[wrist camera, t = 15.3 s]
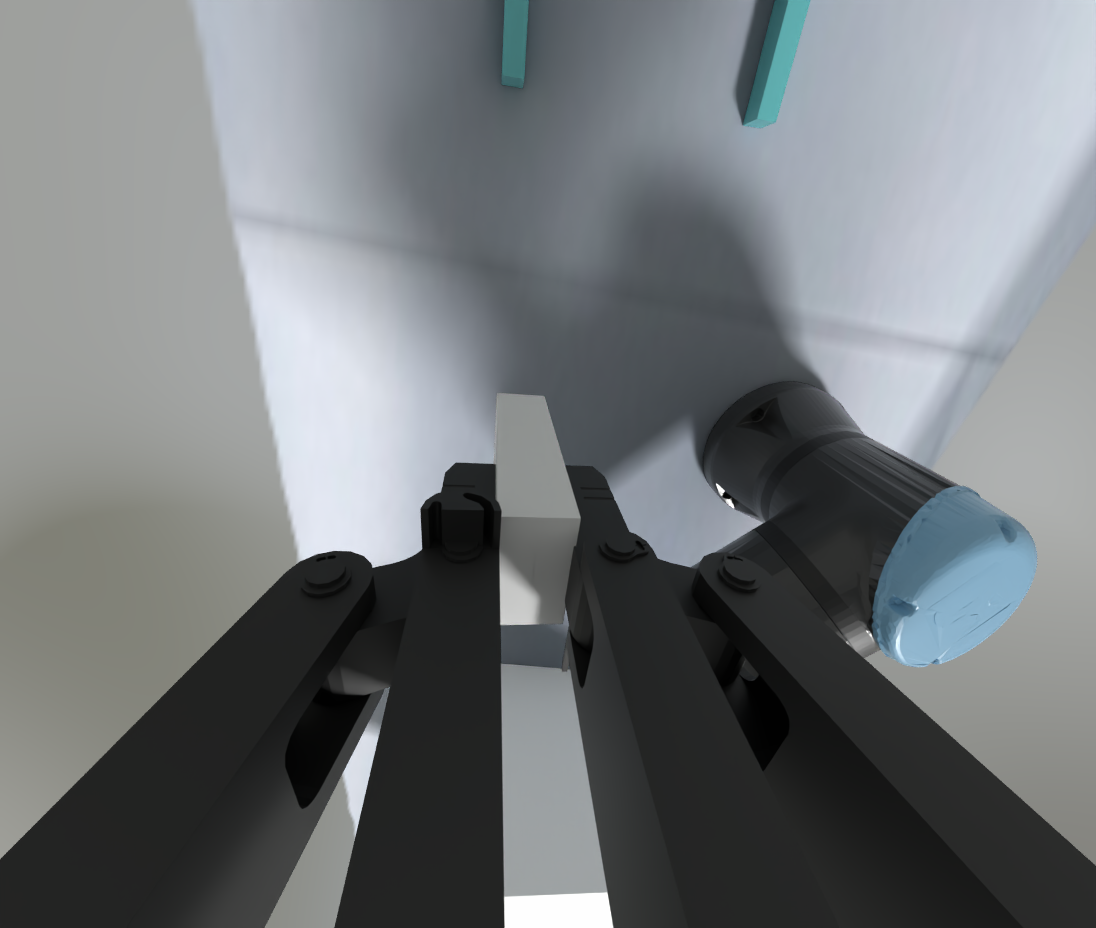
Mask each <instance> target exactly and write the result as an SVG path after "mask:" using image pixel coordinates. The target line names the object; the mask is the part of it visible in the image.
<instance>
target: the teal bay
mask: <svg viewBox="0 0 1096 928" xmlns="http://www.w3.org/2000/svg"><path fill="white" fill-rule="evenodd" d="M809 4H810V0H775V2H774V5H773V9H772V13H771V17H770V21H769V25H768V29H767V33H766V37H765V41H764V45H763V49H762V52H761V56H760V60H759V64H758V68H757V72H756V76H755V80H754V84H753V88H752V92H751V95H750V99H749V103H748V107H747V111H746V115H745V119H744V123H743V125H744V126H750V127H756V128H763V127H765V126H768V125H770V124H773V123H775V122H776V120H777V116H778V113H779V109H780V106H781V102H782V99H783V95H784V92H785V88H786V84H787V81H788V77H789V74H790V70H791V67H792V63H793V60H794V56H795V53H796V49H797V46H798V42H799V39H800V35H801V32H802V28H803V25H804V21H805V18H806V14H807V11H808V7H809ZM528 6H529V0H505V5H504V31H503V57H502V84H501V85H506V86H512V87H518V88H523V84H524V76H525V58H526V41H527V24H528Z"/></svg>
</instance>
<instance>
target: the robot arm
mask: <svg viewBox="0 0 1096 928" xmlns="http://www.w3.org/2000/svg"><path fill="white" fill-rule="evenodd" d="M703 468H704V473H705V477H706V479H707V481H708V483H709V485H710V486H711V488H712V489H713V490H714V491H715V493H716V494H717V495H718V496H719V497H720V498H721V499H722V500H723V501H724V502H725V503H726V504H727V505H729V506H730V507H732V508H733V509H736V510H738V511H740V512H742V513H744V514H746V515H748V516H750V517H752V518H755V519H757V520H759V521H761V522H763V524H761V525H760V526H758V527H756V528H755V529H753V530H751V531H750V532H748V533H746V534H745V535H743V536H741V537H740V538H738V539H737V540H735V541H733V542H732V543H730V544H728V545H727V546H725V547H723V548H722V549H720V550H718V551H717V552H715V553H711V554H709V555H706V556H704V557H703V559H702V560H701V561H700V562H699V563H697V564H695V565H694V566H692V567H686V566H682V565H677V564H673V563H669V562H666V561H663V560H660V559H658V558H657V557H656V555H655V553H654V551H653V549H652V548H651V547H650V545H649V544H648V543H647V541H645V540H644V539H642V538H641V537H639V536H638V535H636V534H634V533H631V532H629V530H628V528H627V526H626V523H625V521H624V519H623V517H622V514H621V512H620V510H619V508H618V506H617V503H616V501H615V500H614V497H613V494H612V492H611V490H610V488H609V485H608V483H607V481H606V479H605V477H604V476H603V475H602V474H601V473H600V472H598V471H597V470H596V469H595V468H594V467H593V466H567V465H565V464H564V460H563V457H562V453H561V450H560V447H559V443H558V440H557V437H556V433H555V430H554V427H553V423H552V420H551V417H550V413H549V410H548V407H547V403H546V400H545V396H539V395H523V394H507V393H497V400H496V421H495V443H494V464H479V463H455V464H454V465H453V466H452V467H451V468H450V469H449V470H448V471H446V472H445V477H444V481H443V487H442V491H441V493H437V494H435V495H434V496H432V497H430V498H429V499H427V500H426V501H425V503H424V504H423V506H422V507H421V509H420V510H421V530H422V550H421V551H420V552H418V553H417V554H416V555H414V556H412V557H410V558H408V559H406V560H403V561H400V562H396V563H393V564H388V565H384V566H379V567H375V568H372V564H371V563H370V562H369V561H368V560H367V559H366V558H365V557H364V556H362V555H359V554H356V553H353V552H349V551H332V552H327V553H322V554H317V555H314V556H312V557H310V558H307V559H305V560H303V561H300V562H299V563H298V564H296V565H295V566H294V567H292V568H291V569H290V570H289V571H287V572H286V573H285V574H284V575H283V576H282V577H281V578H280V579H279V580H278V581H277V582H276V583H275V584H274V585H273V586H272V587H271V588H270V589H269V590H268V591H267V592H266V593H265V594H264V595H263V596H262V597H261V598H260V599H259V600H258V601H257V602H256V603H255V604H254V605H253V606H252V607H251V608H250V609H249V610H248V611H247V612H246V613H245V614H244V615H243V616H242V617H241V618H240V619H239V620H238V621H237V622H236V623H235V624H234V625H233V626H232V627H231V628H230V629H229V630H228V631H227V632H226V633H225V634H224V635H223V636H222V637H221V638H220V639H219V640H218V641H217V642H216V643H215V644H214V645H213V646H212V647H211V648H210V649H209V650H208V651H207V652H206V653H205V654H204V655H203V656H202V657H201V658H200V659H199V660H198V661H197V662H196V663H195V664H194V665H193V666H192V667H191V668H190V669H189V670H188V671H187V672H186V673H185V674H184V675H183V676H182V677H181V678H180V679H179V680H178V681H177V682H176V683H175V684H174V685H173V686H172V687H171V688H170V689H169V690H168V691H167V692H166V693H165V694H164V695H163V696H162V697H161V698H160V699H159V700H158V701H157V702H156V703H155V704H154V705H153V706H152V707H151V709H149V710H148V711H147V712H146V713H145V714H144V715H143V716H142V717H141V719H139V720H138V721H137V722H136V724H134V725H133V726H132V727H131V728H130V729H129V730H128V731H127V733H125V734H124V735H123V736H122V737H121V738H120V740H118V741H117V742H116V744H115V745H113V746H112V747H111V749H110V750H109V751H108V752H107V753H106V754H105V755H104V756H103V757H102V758H101V759H100V760H99V761H98V762H97V763H96V764H95V765H94V766H93V767H92V768H91V769H90V770H89V771H88V772H87V773H86V774H85V775H84V776H83V777H82V778H81V779H80V780H79V781H78V782H77V783H76V784H75V785H74V786H73V787H72V788H71V789H70V790H69V791H68V792H67V793H66V794H65V795H64V796H63V797H62V798H61V799H60V800H59V801H58V802H57V803H56V804H55V805H54V806H53V807H52V808H51V809H50V810H49V811H48V812H47V813H46V814H45V815H44V816H43V817H42V818H41V819H40V820H39V821H38V822H37V823H36V824H35V825H34V826H33V827H32V828H31V829H30V830H29V831H28V832H27V833H26V834H25V835H24V836H23V837H22V838H21V839H20V840H19V841H18V842H17V843H16V844H15V845H14V846H13V847H12V848H11V849H10V850H9V851H8V852H7V853H6V854H5V855H4V856H3V857H2V858H1V859H0V928H264V927H265V925H266V923H267V922H268V920H269V918H270V916H271V913H272V912H273V910H274V908H275V906H276V903H277V902H278V900H279V898H280V896H281V894H282V892H283V890H284V888H285V886H286V884H287V882H288V880H289V878H290V876H291V874H292V872H293V870H294V868H295V866H296V864H297V862H298V860H299V858H300V856H301V854H302V852H303V850H304V849H305V846H306V845H307V843H308V841H309V839H310V837H311V834H312V833H313V831H314V828H315V827H316V825H317V823H318V821H319V819H320V817H321V815H322V812H323V811H324V809H325V807H326V805H327V803H328V801H329V799H330V797H331V795H332V793H333V791H334V789H335V787H336V785H337V783H338V781H339V779H340V777H341V775H342V773H343V771H344V770H345V768H346V766H347V764H348V762H349V760H350V758H351V756H352V754H353V752H354V750H355V748H356V746H357V744H358V742H359V740H360V738H361V736H362V734H363V732H364V730H365V728H366V726H367V724H368V722H369V720H370V718H371V716H372V714H373V712H374V710H375V708H376V706H377V704H378V702H379V700H380V698H381V696H382V694H383V691H384V689H385V688H388V687H390V690H389V695H388V699H387V703H386V708H385V712H384V716H383V721H382V725H381V729H380V734H379V738H378V742H377V746H376V751H375V755H374V759H373V764H372V768H371V772H370V777H369V781H368V785H367V790H366V794H365V798H364V802H363V807H362V811H361V815H360V820H359V824H358V828H357V833H356V837H355V841H354V846H353V850H352V854H351V859H350V863H349V867H348V871H347V876H346V880H345V885H344V889H343V893H342V897H341V902H340V906H339V911H338V915H337V919H336V923H335V927H334V928H505V920H504V847H503V774H502V701H501V628H500V625H533V624H563V620H564V614H565V608H566V611H567V616H568V621H569V629H568V634H567V640H566V645H565V651H564V656H563V662H562V672H567V670H568V665H570V671H571V677H572V683H573V689H574V695H575V701H576V707H577V713H578V719H579V725H580V731H581V737H582V743H583V749H584V755H585V761H586V767H587V773H588V779H589V785H590V791H591V797H592V803H593V809H594V815H595V821H596V827H597V833H598V839H599V845H600V851H601V857H602V863H603V869H604V875H605V881H606V887H607V893H608V899H609V905H610V911H611V917H612V923H613V928H1096V866H1095V865H1094V864H1093V863H1092V862H1091V861H1090V860H1088V858H1086V857H1085V856H1084V855H1083V854H1082V853H1081V852H1080V851H1078V849H1076V848H1075V847H1074V846H1073V845H1072V844H1071V843H1070V842H1069V841H1068V840H1066V839H1065V838H1064V837H1063V836H1062V835H1061V834H1060V833H1058V832H1057V831H1056V830H1055V829H1054V828H1053V827H1052V826H1051V825H1049V823H1047V822H1046V821H1045V820H1044V819H1043V818H1042V817H1041V816H1040V815H1038V814H1037V813H1036V812H1035V811H1034V810H1033V809H1032V808H1030V806H1028V805H1027V804H1026V803H1025V802H1024V801H1023V800H1022V799H1021V798H1019V797H1018V796H1017V795H1016V794H1015V793H1014V792H1013V791H1012V790H1011V789H1009V788H1008V787H1007V786H1006V785H1005V784H1004V783H1003V782H1002V781H1000V780H999V779H998V778H997V777H996V776H995V775H994V774H993V773H992V772H990V771H989V770H988V769H987V768H986V767H985V766H984V765H983V764H981V763H980V762H979V761H978V760H977V759H976V758H975V757H974V756H973V755H971V754H970V753H969V752H968V751H967V750H966V749H965V748H963V747H962V746H961V745H960V744H959V743H958V742H957V741H956V740H955V739H953V738H952V737H951V736H950V735H949V734H948V733H947V732H946V731H945V730H943V729H942V728H941V727H940V726H939V725H938V724H937V723H935V721H933V720H932V719H931V718H930V717H929V716H928V715H927V714H926V713H924V712H923V711H922V710H921V709H920V708H919V707H918V706H916V705H915V704H914V703H913V702H912V701H911V700H910V699H909V698H908V697H907V696H905V695H904V694H903V693H902V692H901V691H900V690H899V689H898V688H896V687H895V686H894V685H893V684H892V683H891V682H890V681H888V679H886V678H885V677H884V676H883V675H882V674H881V673H880V672H879V671H877V670H876V669H875V668H874V667H873V666H872V665H871V664H870V663H869V662H867V661H866V660H865V659H864V658H865V657H867V656H869V655H871V654H873V653H875V652H877V651H879V650H881V651H882V652H883V653H884V654H885V655H886V656H887V657H890V658H892V659H895V660H896V661H897V662H899V663H901V664H903V665H907V666H911V667H926V666H928V665H929V664H930V663H933V664H941V663H944V662H947V661H949V660H952V659H954V658H956V657H958V656H960V655H962V654H964V653H966V652H967V651H969V650H971V649H972V648H974V647H975V646H977V645H978V644H980V643H981V642H982V641H984V640H985V639H987V638H988V637H989V636H990V635H992V634H993V633H994V632H995V631H996V630H997V629H998V628H999V627H1000V626H1001V625H1002V624H1003V623H1004V622H1005V621H1006V620H1007V619H1008V618H1009V617H1010V616H1011V615H1012V613H1013V612H1014V611H1015V610H1016V609H1017V607H1018V606H1019V604H1020V602H1021V601H1022V599H1023V598H1024V597H1025V595H1026V594H1027V592H1028V590H1029V588H1030V586H1031V584H1032V581H1033V578H1034V575H1035V572H1036V567H1037V551H1036V547H1035V543H1034V541H1033V538H1032V537H1031V535H1030V533H1029V532H1028V531H1027V530H1026V528H1025V527H1024V526H1023V525H1022V524H1021V523H1019V522H1018V521H1017V520H1015V519H1014V518H1013V517H1011V516H1009V515H1008V514H1006V513H1005V512H1003V511H1001V510H1000V509H998V508H997V507H995V506H993V505H992V504H990V503H989V502H987V501H986V500H984V499H982V498H981V497H980V496H979V494H978V493H976V492H975V491H973V490H972V489H970V488H968V487H965V486H960V485H958V484H956V483H954V482H952V481H950V480H948V479H946V478H944V477H943V476H941V475H939V474H937V473H935V472H933V471H931V470H929V469H928V468H926V467H924V466H922V465H920V464H918V463H916V462H914V461H912V460H911V459H909V458H907V457H905V456H903V455H901V454H899V453H897V452H895V451H894V450H892V449H890V448H888V447H886V446H884V445H882V444H880V443H879V442H876V441H874V440H873V439H871V438H869V437H867V436H865V435H864V434H863V432H862V431H861V430H860V428H859V427H858V426H857V424H856V423H855V422H854V421H853V419H852V418H851V417H850V415H849V414H848V413H847V412H846V411H845V409H844V407H843V406H842V405H841V404H840V403H839V402H838V401H837V400H836V399H835V398H834V397H832V396H831V395H829V394H828V393H826V392H824V391H822V390H820V389H818V388H815V387H813V386H811V385H808V384H805V383H800V382H780V383H775V384H771V385H767V386H764V387H762V388H759V389H757V390H755V391H753V392H751V393H749V394H747V395H746V396H744V397H743V398H741V399H740V400H739V401H737V402H736V403H735V404H734V405H732V406H731V407H730V408H729V409H728V410H727V411H726V412H725V413H724V414H723V416H722V417H721V418H720V419H719V421H718V422H717V423H716V425H715V426H714V428H713V430H712V432H711V433H710V435H709V438H708V440H707V443H706V446H705V450H704V456H703Z"/></svg>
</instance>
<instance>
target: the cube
mask: <svg viewBox="0 0 1096 928" xmlns="http://www.w3.org/2000/svg"><path fill="white" fill-rule="evenodd" d="M501 701H502V774H503V847H504V920H505V928H613V923H612V917H611V911H610V905H609V899H608V893H607V887H606V881H605V875H604V869H603V863H602V857H601V851H600V845H599V839H598V833H597V827H596V821H595V815H594V809H593V803H592V797H591V791H590V785H589V779H588V773H587V767H586V761H585V755H584V749H583V743H582V737H581V731H580V725H579V719H578V713H577V707H576V701H575V695H574V689H573V683H572V677H571V671H570V669H568V670H567V672H562V669H560V668H548V667H536V666H524V665H512V664H501Z"/></svg>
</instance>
